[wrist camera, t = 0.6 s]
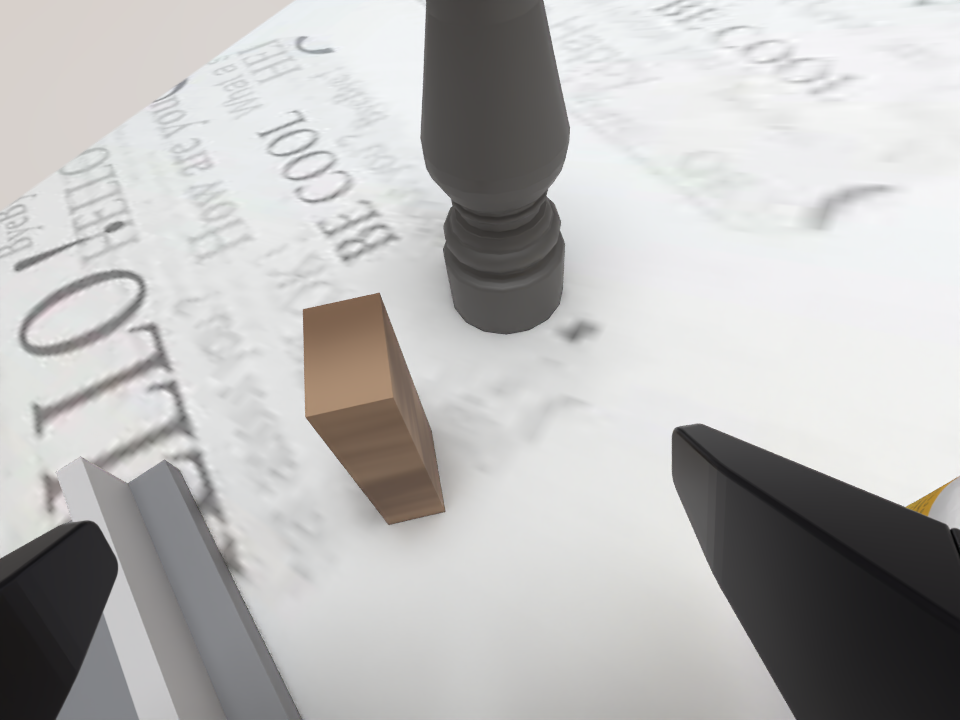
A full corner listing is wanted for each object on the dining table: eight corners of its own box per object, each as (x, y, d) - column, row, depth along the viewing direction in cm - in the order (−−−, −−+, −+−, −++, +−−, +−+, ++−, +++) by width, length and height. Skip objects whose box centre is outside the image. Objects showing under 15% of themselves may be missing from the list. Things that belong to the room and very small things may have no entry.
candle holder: (506, 354, 28) (402, -731, 7) (429, 292, 31) (193, -611, 10) (586, 286, 30) (690, -714, 9) (506, 234, 33) (446, -618, 12)
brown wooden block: (445, 511, 23) (393, 397, 15) (388, 524, 23) (305, 416, 15) (428, 414, 26) (377, 272, 18) (378, 425, 26) (302, 288, 18)
